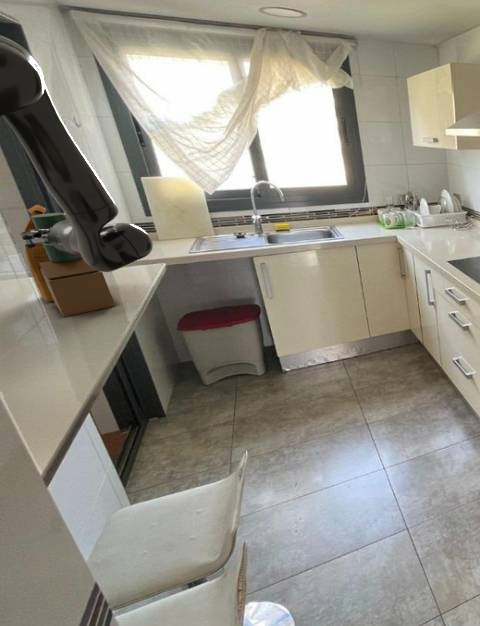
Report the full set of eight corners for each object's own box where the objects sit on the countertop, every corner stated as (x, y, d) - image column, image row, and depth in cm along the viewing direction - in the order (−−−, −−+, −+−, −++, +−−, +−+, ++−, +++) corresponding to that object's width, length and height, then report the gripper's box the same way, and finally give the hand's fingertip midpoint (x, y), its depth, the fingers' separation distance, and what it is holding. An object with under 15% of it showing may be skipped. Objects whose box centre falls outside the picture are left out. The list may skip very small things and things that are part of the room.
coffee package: (98, 283, 125) (65, 202, 116) (96, 295, 116) (60, 208, 108) (45, 292, 119) (7, 206, 110) (39, 304, 110) (-3, 212, 102)
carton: (115, 305, 110) (101, 269, 106) (64, 316, 103) (47, 278, 100) (104, 295, 116) (90, 260, 113) (55, 305, 110) (39, 268, 107)
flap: (101, 270, 106) (100, 269, 106) (47, 279, 100) (47, 278, 100) (92, 255, 108) (92, 254, 108) (39, 264, 102) (39, 262, 102)
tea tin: (48, 263, 102) (29, 217, 98) (51, 258, 105) (32, 214, 102) (82, 258, 105) (64, 214, 101) (83, 254, 109) (66, 211, 105)
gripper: (118, 215, 101) (86, 210, 108) (26, 227, 89) (-3, 220, 97) (130, 249, 104) (98, 241, 111) (42, 264, 92) (13, 254, 100)
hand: (51, 231), depth 104 cm, fingers closed on tea tin, 5 cm apart
